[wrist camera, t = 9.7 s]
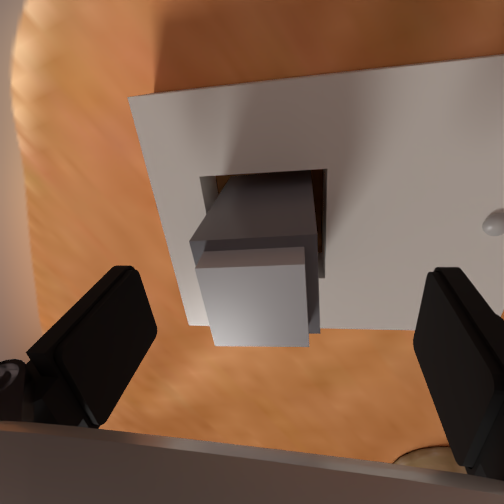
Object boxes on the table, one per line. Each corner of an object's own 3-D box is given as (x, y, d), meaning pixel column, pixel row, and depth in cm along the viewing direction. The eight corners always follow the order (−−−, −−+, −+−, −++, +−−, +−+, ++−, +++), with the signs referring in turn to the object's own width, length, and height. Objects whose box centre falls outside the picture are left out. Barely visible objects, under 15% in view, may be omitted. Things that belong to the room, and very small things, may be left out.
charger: (310, 168, 15) (318, 251, 8) (313, 240, 17) (321, 355, 10) (231, 176, 16) (178, 257, 9) (242, 244, 18) (206, 353, 11)
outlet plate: (551, 48, 12) (612, 43, 9) (471, 299, 18) (496, 334, 15) (153, 92, 14) (125, 97, 12) (200, 298, 20) (188, 326, 18)
